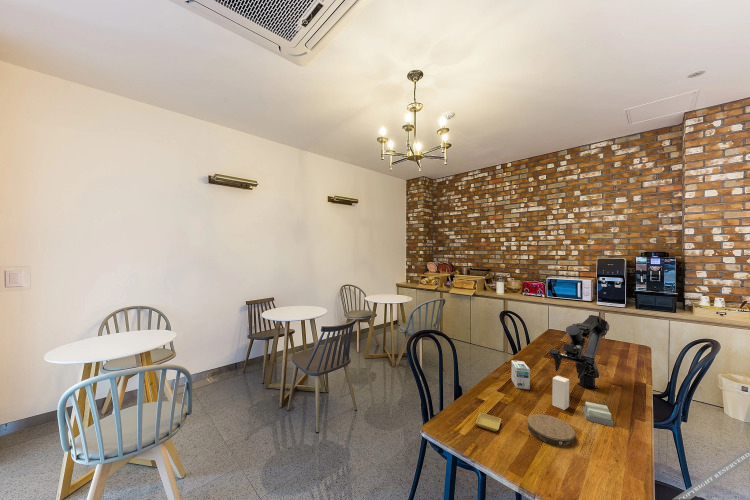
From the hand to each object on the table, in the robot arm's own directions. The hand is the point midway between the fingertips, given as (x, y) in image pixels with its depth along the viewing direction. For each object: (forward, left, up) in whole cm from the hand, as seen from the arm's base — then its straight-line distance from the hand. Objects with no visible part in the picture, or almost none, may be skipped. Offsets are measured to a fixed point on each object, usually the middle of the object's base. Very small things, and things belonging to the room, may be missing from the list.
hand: (566, 374), depth 136 cm
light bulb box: (+10, -19, -13) cm, 25 cm away
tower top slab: (-2, +14, -11) cm, 18 cm away
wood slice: (+26, +19, -13) cm, 35 cm away
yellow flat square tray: (+47, +10, -13) cm, 50 cm away
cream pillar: (+6, +3, -13) cm, 14 cm away
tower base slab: (-2, +14, -13) cm, 19 cm away
